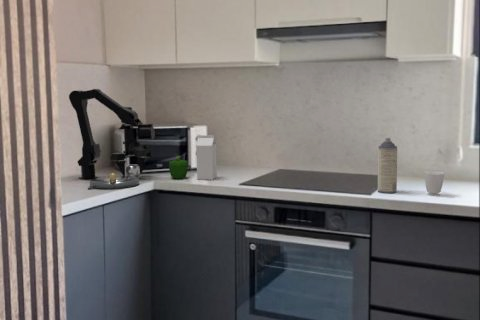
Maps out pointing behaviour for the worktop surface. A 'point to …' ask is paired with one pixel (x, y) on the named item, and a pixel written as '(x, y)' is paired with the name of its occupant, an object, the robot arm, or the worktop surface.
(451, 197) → the worktop surface
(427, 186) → the cup
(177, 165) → the bell pepper
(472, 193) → the worktop surface
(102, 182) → the turntable
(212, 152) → the milk carton
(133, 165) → the cover
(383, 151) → the aerosol can
